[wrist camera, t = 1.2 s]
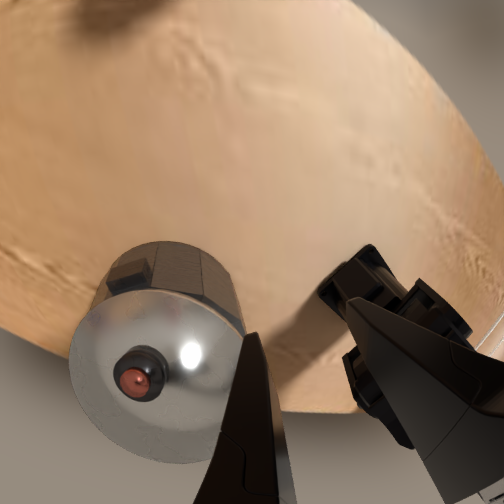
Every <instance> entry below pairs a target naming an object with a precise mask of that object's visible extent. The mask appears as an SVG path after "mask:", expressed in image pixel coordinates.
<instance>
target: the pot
mask: <svg viewBox="0 0 504 504" xmlns="http://www.w3.org/2000/svg"><path fill="white" fill-rule="evenodd" d="M148 288H153V289H165V290H170V291H176V292H179V293H182V294H185V295H188V296H191V297H193V298H195V299H197V300H199V301H202V302H203V303H205V304H207V305H208V306H210V307H212V308H213V309H215V310H216V311H217V312H218V313H220V314H221V315H222V316H224V317H225V318H226V319H227V320H228V321H229V322H230V323H231V324H232V325H233V326H234V327H235V328H236V330H237V331H238V332H239V334H240V335H241V336H242V338H243V337H244V336H245V335H246V334H247V331H246V328H245V324H244V320H243V316H242V313H241V309H240V305H239V301H238V298H237V295H236V292H235V289H234V286H233V283H232V280H231V277H230V274H229V273H228V272H227V271H226V270H225V268H224V267H223V266H222V265H221V264H220V263H219V262H218V261H217V260H216V259H215V258H214V257H212V256H211V255H209V254H208V253H206V252H204V251H203V250H201V249H199V248H196V247H194V246H191V245H188V244H184V243H180V242H171V241H158V242H150V243H146V244H142V245H139V246H137V247H135V248H132V249H131V250H129V251H127V252H125V253H124V254H122V255H121V256H120V257H119V258H118V259H117V260H116V261H115V262H114V263H113V265H112V266H111V268H110V269H109V271H108V273H107V274H106V275H105V277H104V278H103V279H102V281H101V283H100V286H99V288H98V291H97V293H96V296H95V298H94V301H93V303H92V306H91V308H90V311H91V310H92V309H93V308H94V307H96V306H97V305H98V304H100V303H102V302H103V301H105V300H107V299H109V298H111V297H114V296H116V295H119V294H121V293H124V292H127V291H132V290H137V289H148Z"/></svg>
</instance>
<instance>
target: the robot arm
mask: <svg viewBox="0 0 504 504" xmlns="http://www.w3.org/2000/svg"><path fill="white" fill-rule="evenodd" d="M370 249H371V251H369V250H370ZM323 292H324V293H323ZM322 293H323V294H322ZM317 294H318V296H319V297H320V298H321V299H322V300H323V301H324V302H325V303H326V304H327V305H328V306H329V307H330V308H331V309H332V310H333V311H335V312H336V313H337V314H338V315H339V316H340V317H341V318H342V319H343V320H344V321H345V322H346V323H347V325H348V327H349V329H350V331H351V334H352V336H353V338H354V340H355V342H356V344H357V345H356V346H355V347H354V348H353V349H352V350H351V351H350V352H349V353H346V354H345V355H344V356H343V357H342V359H343V363H344V367H345V371H346V374H347V378H348V381H349V384H350V388H351V391H352V395H353V398H354V400H355V401H356V402H357V405H358V407H359V408H361V409H363V410H364V411H365V412H366V413H368V414H369V415H370V416H372V417H374V418H377V419H379V420H380V421H381V422H382V423H383V424H384V425H385V426H386V428H387V429H388V430H389V431H390V433H391V434H392V435H393V437H394V438H395V440H396V441H397V442H398V444H400V445H401V446H404V447H406V448H409V449H416V450H417V452H418V454H419V456H420V458H421V460H422V461H423V463H424V465H425V467H426V469H427V471H428V472H429V474H430V476H431V478H432V480H433V482H434V484H435V486H436V487H437V489H438V491H439V493H440V495H441V497H442V498H443V501H444V503H445V504H454V503H456V502H459V501H461V500H463V499H465V498H467V497H469V496H471V495H473V494H475V493H478V494H479V496H480V497H481V498H482V499H483V501H484V502H485V503H486V504H504V362H502V361H500V360H497V359H494V358H491V357H488V356H485V355H483V354H480V353H478V352H476V350H475V349H474V348H473V347H472V346H471V344H470V343H469V342H468V341H467V340H466V339H467V338H468V337H469V336H470V335H471V334H472V332H473V331H472V329H471V328H470V327H469V325H468V324H467V323H466V322H465V320H464V319H463V318H462V317H461V316H460V315H459V314H458V313H457V312H456V310H455V309H454V308H453V307H452V306H451V305H450V304H449V303H448V302H446V301H445V300H444V299H443V298H442V297H441V296H440V295H439V294H438V293H436V292H435V291H434V290H433V289H432V288H431V287H429V286H428V285H427V284H426V283H425V282H424V281H422V280H421V279H420V278H419V279H418V280H417V281H416V282H415V285H414V286H413V287H412V288H411V289H410V291H409V292H408V291H407V290H406V289H405V288H404V287H403V286H402V285H401V284H400V283H399V282H398V281H397V279H396V278H395V276H394V275H393V273H392V271H391V270H390V268H389V267H388V265H387V264H386V262H385V261H384V259H383V258H382V256H381V255H380V253H379V252H378V250H377V249H376V248H375V247H374V246H373V245H372V244H368V245H367V246H366V247H365V248H363V249H362V250H361V251H360V252H359V253H358V254H357V255H356V256H355V257H354V258H353V259H352V260H351V261H349V262H348V263H347V264H346V265H345V266H344V267H343V268H342V269H341V270H340V271H338V272H337V273H336V274H335V275H334V276H333V277H332V278H331V279H330V280H328V281H327V282H326V283H325V284H324V285H323V286H322V287H320V288H319V289H318V291H317ZM220 431H221V432H219V435H218V439H217V443H216V446H215V450H214V453H213V456H212V459H211V462H210V465H209V467H208V470H207V473H206V475H205V477H204V480H203V482H202V484H201V487H200V489H199V491H198V493H197V495H196V498H195V500H194V502H193V504H297V501H296V495H295V489H294V483H293V478H292V473H291V467H290V461H289V455H288V449H287V444H286V438H285V432H284V426H283V421H282V415H281V409H280V404H279V399H278V395H277V391H276V388H275V385H274V382H273V378H272V375H271V372H270V369H269V366H268V363H267V360H266V357H265V353H264V350H263V347H262V344H261V341H260V338H259V334H258V333H257V332H253V333H250V334H246V335H245V336H244V337H243V341H242V345H241V349H240V353H239V357H238V361H237V365H236V369H235V373H234V377H233V381H232V385H231V389H230V393H229V397H228V401H227V405H226V409H225V413H224V416H223V420H222V424H221V428H220Z"/></svg>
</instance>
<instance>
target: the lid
mask: <svg viewBox="0 0 504 504" xmlns="http://www.w3.org/2000/svg"><path fill="white" fill-rule="evenodd" d="M242 341H243V338H242V336H241V335H240V334H239V332H238V331H237V330H236V328H235V327H234V326H233V325H232V324H231V323H230V322H229V321H228V320H227V319H226V318H225V317H224V316H222V315H221V314H220V313H218V312H217V311H216V310H215V309H213V308H212V307H210V306H208V305H207V304H205V303H203V302H202V301H199V300H197V299H195V298H193V297H191V296H188V295H185V294H182V293H179V292H176V291H170V290H165V289H153V288H148V289H137V290H132V291H127V292H124V293H121V294H119V295H116V296H114V297H111V298H109V299H107V300H105V301H103V302H102V303H100V304H98V305H97V306H96V307H94V308H93V309H92V310H91V311H89V313H88V314H87V315H86V316H85V317H84V318H83V319H82V321H81V322H80V324H79V326H78V327H77V329H76V331H75V333H74V336H73V338H72V342H71V346H70V352H69V372H70V378H71V382H72V386H73V389H74V392H75V394H76V397H77V399H78V401H79V403H80V405H81V406H82V408H83V410H84V412H85V413H86V415H87V416H88V417H89V419H90V420H91V421H92V422H93V424H94V425H95V426H96V427H97V428H98V429H99V430H100V431H101V432H102V433H103V434H105V436H107V437H108V438H109V439H110V440H112V441H113V442H114V443H116V444H117V445H119V446H121V447H122V448H124V449H126V450H127V451H130V452H132V453H134V454H136V455H138V456H141V457H144V458H147V459H150V460H154V461H158V462H164V463H175V464H185V463H195V462H200V461H204V460H208V459H211V458H212V456H213V453H214V450H215V446H216V443H217V439H218V435H219V432H221V431H220V428H221V424H222V420H223V416H224V413H225V409H226V405H227V401H228V397H229V393H230V389H231V385H232V381H233V377H234V373H235V369H236V365H237V361H238V357H239V353H240V349H241V345H242Z"/></svg>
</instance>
